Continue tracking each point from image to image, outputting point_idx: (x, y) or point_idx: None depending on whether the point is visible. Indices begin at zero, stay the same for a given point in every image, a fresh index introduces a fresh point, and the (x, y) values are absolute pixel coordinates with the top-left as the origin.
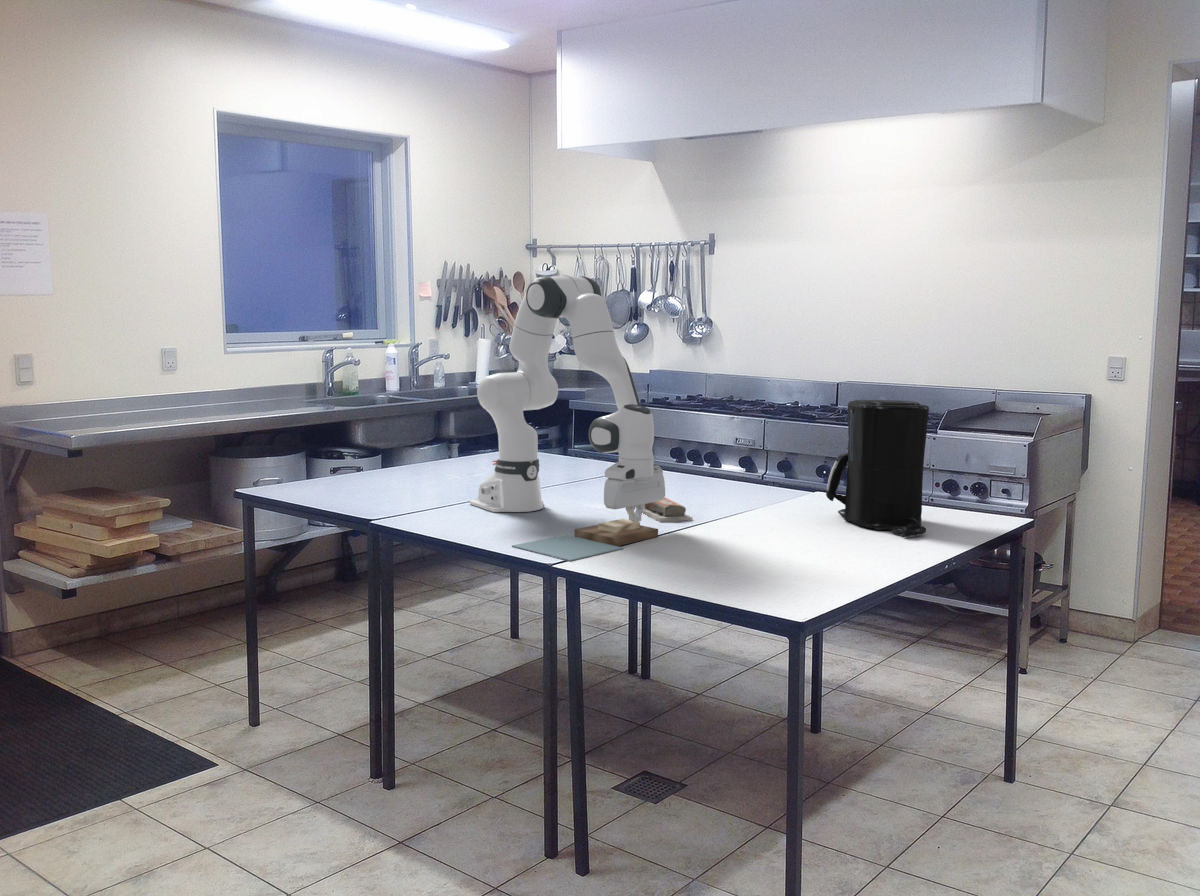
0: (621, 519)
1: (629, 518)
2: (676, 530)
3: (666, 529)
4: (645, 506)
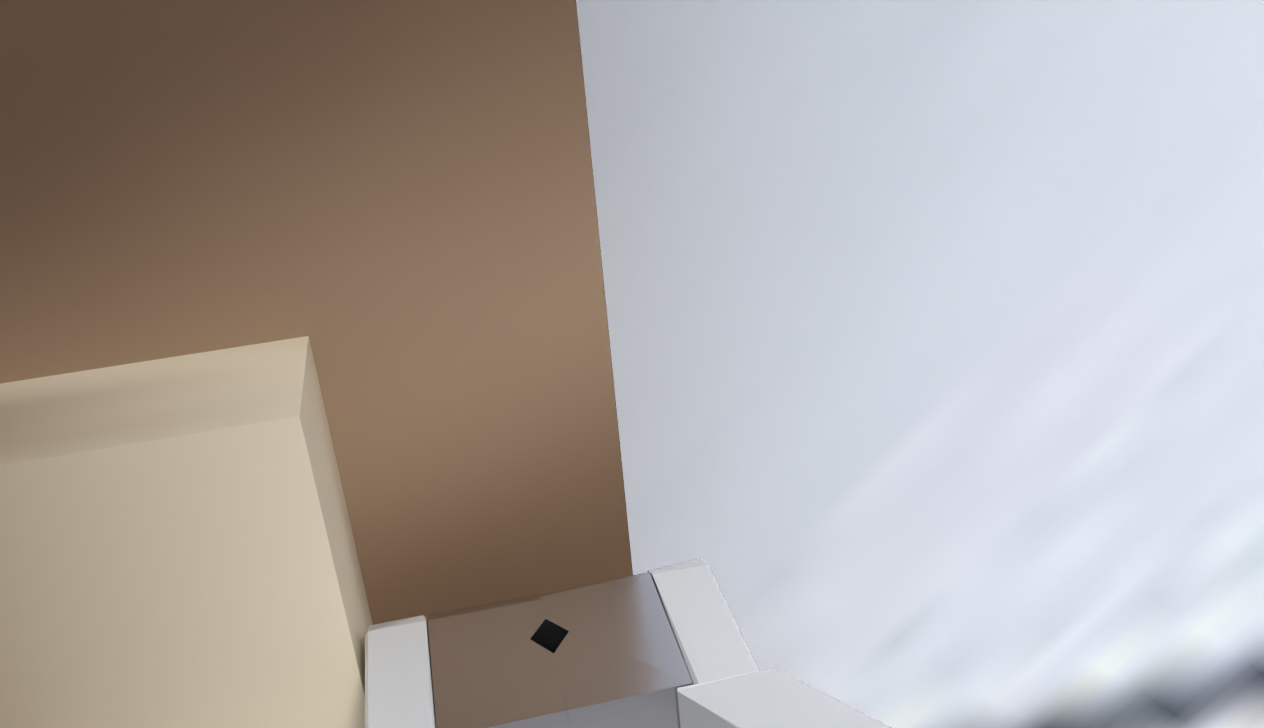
0: (169, 509)
1: (366, 706)
2: (1255, 678)
3: (1219, 542)
4: None
